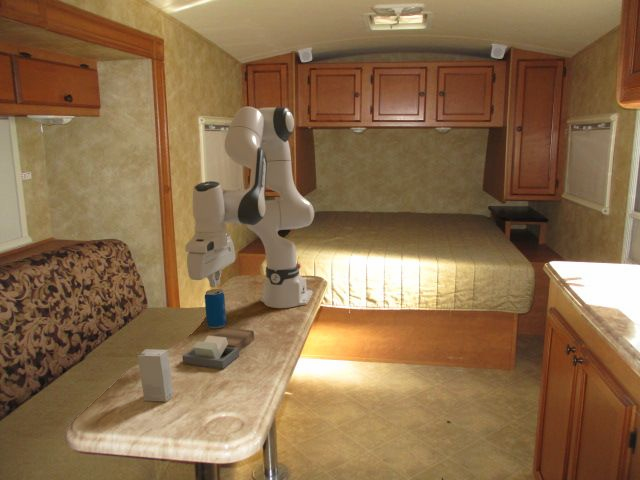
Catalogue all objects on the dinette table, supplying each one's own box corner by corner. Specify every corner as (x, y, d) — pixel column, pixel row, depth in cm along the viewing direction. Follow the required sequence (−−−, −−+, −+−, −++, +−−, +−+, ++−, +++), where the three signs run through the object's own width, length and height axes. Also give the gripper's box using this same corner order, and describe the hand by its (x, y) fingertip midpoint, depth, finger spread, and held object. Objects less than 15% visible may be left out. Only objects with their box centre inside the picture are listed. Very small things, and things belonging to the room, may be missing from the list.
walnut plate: (226, 336, 166) (225, 327, 165) (254, 339, 162) (253, 330, 162) (205, 351, 155) (204, 342, 154) (235, 355, 151) (234, 345, 151)
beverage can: (222, 329, 172) (219, 294, 169) (203, 328, 173) (200, 294, 170) (229, 322, 178) (226, 289, 175) (211, 321, 179) (208, 288, 177)
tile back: (210, 341, 154) (207, 335, 152) (228, 343, 152) (226, 337, 150) (202, 354, 150) (199, 347, 149) (220, 356, 148) (218, 349, 147)
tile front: (197, 341, 147) (193, 347, 145) (216, 343, 145) (212, 349, 143) (202, 354, 150) (198, 360, 148) (220, 356, 148) (216, 362, 146)
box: (200, 351, 155) (200, 343, 155) (239, 356, 151) (238, 348, 150) (183, 363, 147) (182, 355, 146) (223, 369, 142) (222, 361, 142)
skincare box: (174, 394, 130) (169, 348, 127) (165, 403, 125) (161, 356, 123) (151, 392, 131) (146, 347, 128) (142, 401, 127) (137, 355, 124)
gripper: (220, 231, 159) (223, 274, 162) (181, 247, 140) (186, 296, 144) (238, 232, 157) (241, 276, 160) (201, 248, 138) (205, 298, 141)
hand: (215, 285), depth 152 cm, fingers closed
